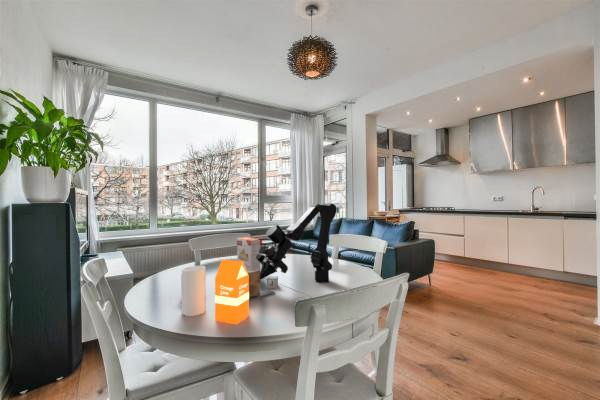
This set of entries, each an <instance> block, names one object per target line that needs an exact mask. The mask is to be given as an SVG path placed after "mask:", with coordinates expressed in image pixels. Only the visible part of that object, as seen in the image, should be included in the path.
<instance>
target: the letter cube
mask: <svg viewBox="0 0 600 400" xmlns="http://www.w3.org/2000/svg"><path fill="white" fill-rule="evenodd" d="M278 285H279V276H278V275H268V276H267V277H266V288H267V289H277V287H278Z"/></svg>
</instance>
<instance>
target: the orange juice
mask: <svg viewBox="0 0 600 400" xmlns="http://www.w3.org/2000/svg"><path fill="white" fill-rule="evenodd" d="M217 269H218V270H217V272H216V275H215V276H214V310H215V311H214V312H215V313H214V318H215V319H214V320H215V322H222V323H228V324H232V325H233V324H235V325H238V324H239V323H241V322H242V321H243V320H246V319H247V318H248V317H249V316H250V305H249V304H250V300H249V275H248V273H247V271H246V268H245V266H244V264H243V261H237V260H229V259H221V261H220V264H219V266H218V268H217Z"/></svg>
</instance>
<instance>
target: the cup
mask: <svg viewBox="0 0 600 400" xmlns="http://www.w3.org/2000/svg"><path fill="white" fill-rule="evenodd" d="M206 273H207V271H206V266H204V265H190V266H185V267H183V268H181V277H182V280H181V315H182V314H183V315H182V316H184V315H185V316H184V317H196V316H199V315H202V314H205V312H206V311H207V310H206V309H207V305H206V304H207V301H206V300H207V295H206V294H207V293H206V292H207V290H206V287H207V286H206V284H207V283H206V279H207V278H206V275H207V274H206ZM195 315H196V316H195Z"/></svg>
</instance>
